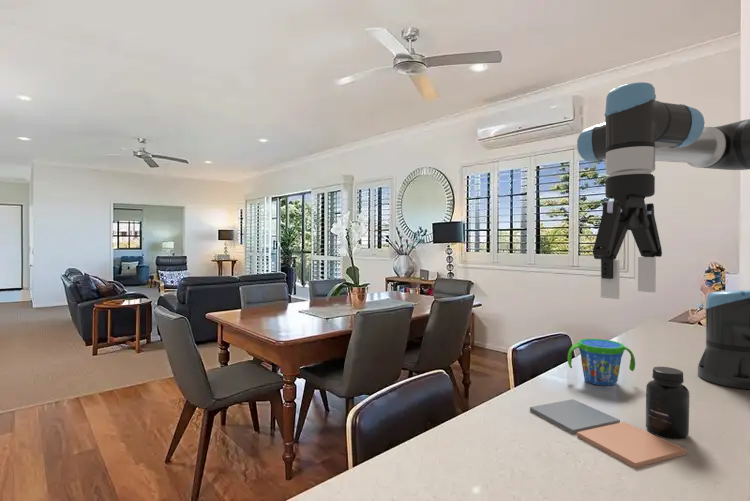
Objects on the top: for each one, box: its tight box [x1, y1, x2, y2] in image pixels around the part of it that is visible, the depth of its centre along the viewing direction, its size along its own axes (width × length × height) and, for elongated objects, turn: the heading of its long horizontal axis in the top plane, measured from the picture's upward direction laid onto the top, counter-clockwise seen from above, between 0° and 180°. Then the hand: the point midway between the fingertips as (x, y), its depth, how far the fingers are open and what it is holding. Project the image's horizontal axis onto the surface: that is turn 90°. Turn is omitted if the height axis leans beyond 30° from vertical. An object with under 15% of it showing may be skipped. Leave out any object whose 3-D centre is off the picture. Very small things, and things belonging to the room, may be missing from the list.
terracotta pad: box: [576, 421, 688, 469], centre depth 77 cm, size 12×12×1 cm
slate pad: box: [529, 398, 621, 435], centre depth 89 cm, size 12×12×1 cm
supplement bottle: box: [645, 366, 691, 440], centre depth 81 cm, size 7×7×12 cm
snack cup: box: [567, 338, 636, 387], centre depth 110 cm, size 16×10×10 cm
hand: (629, 294), depth 76 cm, fingers open, 13 cm apart
